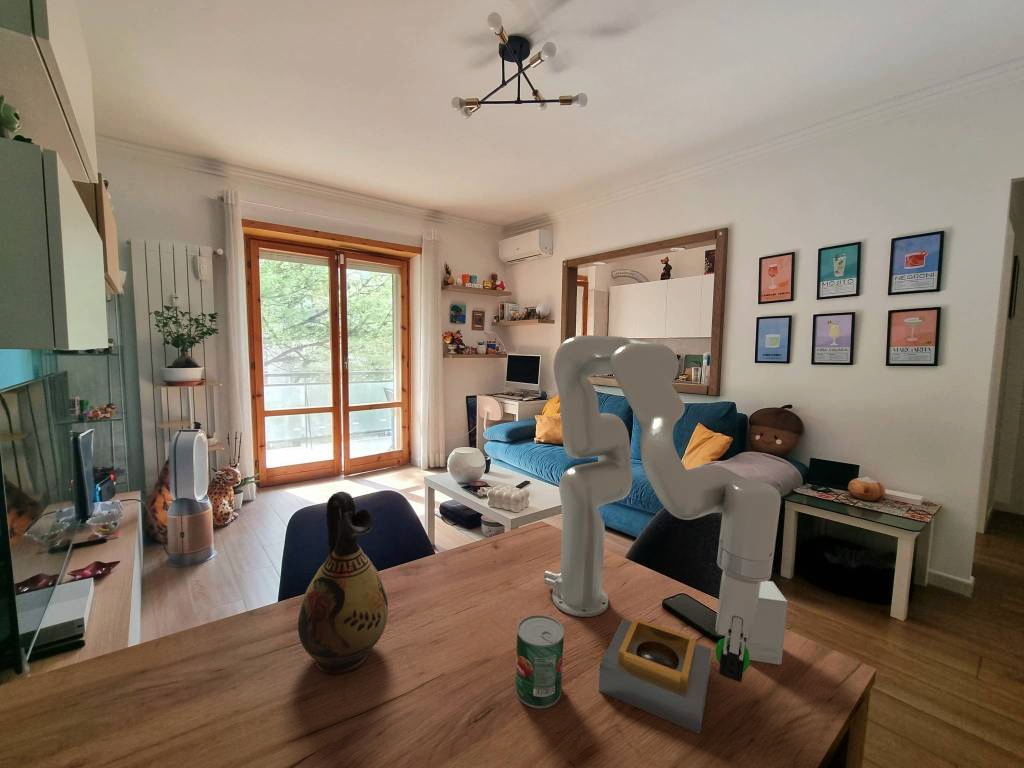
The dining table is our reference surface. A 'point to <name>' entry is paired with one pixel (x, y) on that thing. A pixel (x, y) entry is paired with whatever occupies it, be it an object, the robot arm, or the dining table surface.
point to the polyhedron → (746, 653)
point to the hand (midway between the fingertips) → (731, 664)
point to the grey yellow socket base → (657, 672)
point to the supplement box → (768, 625)
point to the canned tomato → (539, 661)
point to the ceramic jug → (343, 595)
